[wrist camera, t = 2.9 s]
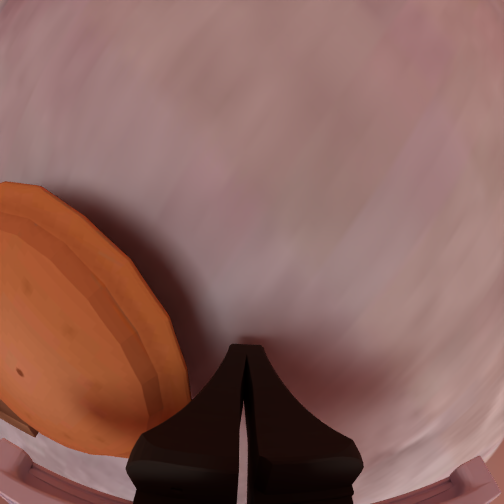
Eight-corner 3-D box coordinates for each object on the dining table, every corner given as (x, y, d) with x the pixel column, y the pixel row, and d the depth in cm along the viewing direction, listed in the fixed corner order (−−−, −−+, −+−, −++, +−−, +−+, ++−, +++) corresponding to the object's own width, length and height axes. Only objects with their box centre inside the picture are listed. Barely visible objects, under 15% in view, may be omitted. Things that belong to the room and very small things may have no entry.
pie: (-31, 205, 11) (-84, 221, 6) (179, 148, 11) (130, 134, 6) (36, 398, 15) (8, 437, 10) (222, 425, 15) (217, 492, 10)
